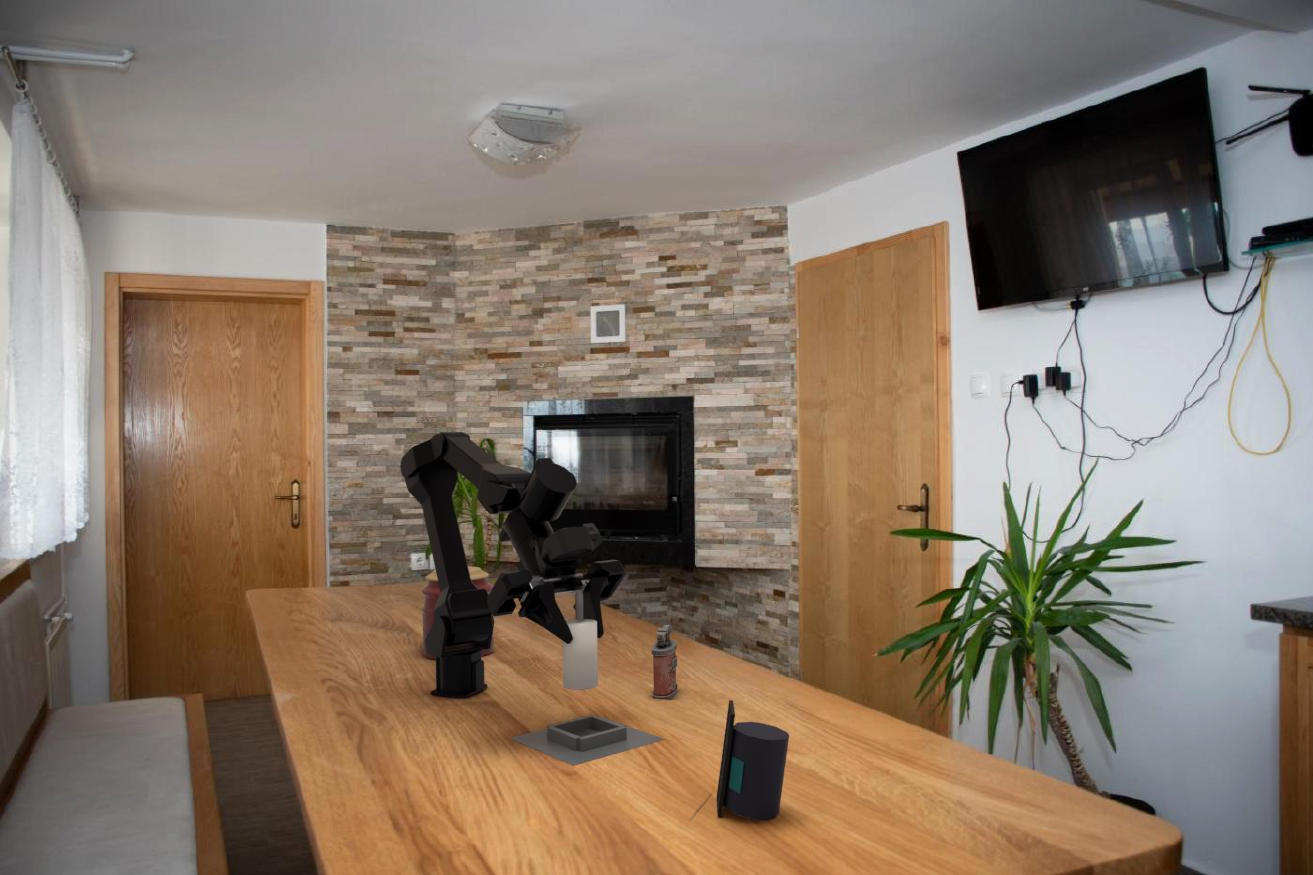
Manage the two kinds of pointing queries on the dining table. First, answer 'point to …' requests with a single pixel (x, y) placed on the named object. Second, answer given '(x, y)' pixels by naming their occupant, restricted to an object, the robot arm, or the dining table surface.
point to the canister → (431, 598)
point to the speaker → (751, 768)
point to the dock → (585, 739)
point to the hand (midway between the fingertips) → (586, 638)
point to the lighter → (664, 665)
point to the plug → (580, 651)
